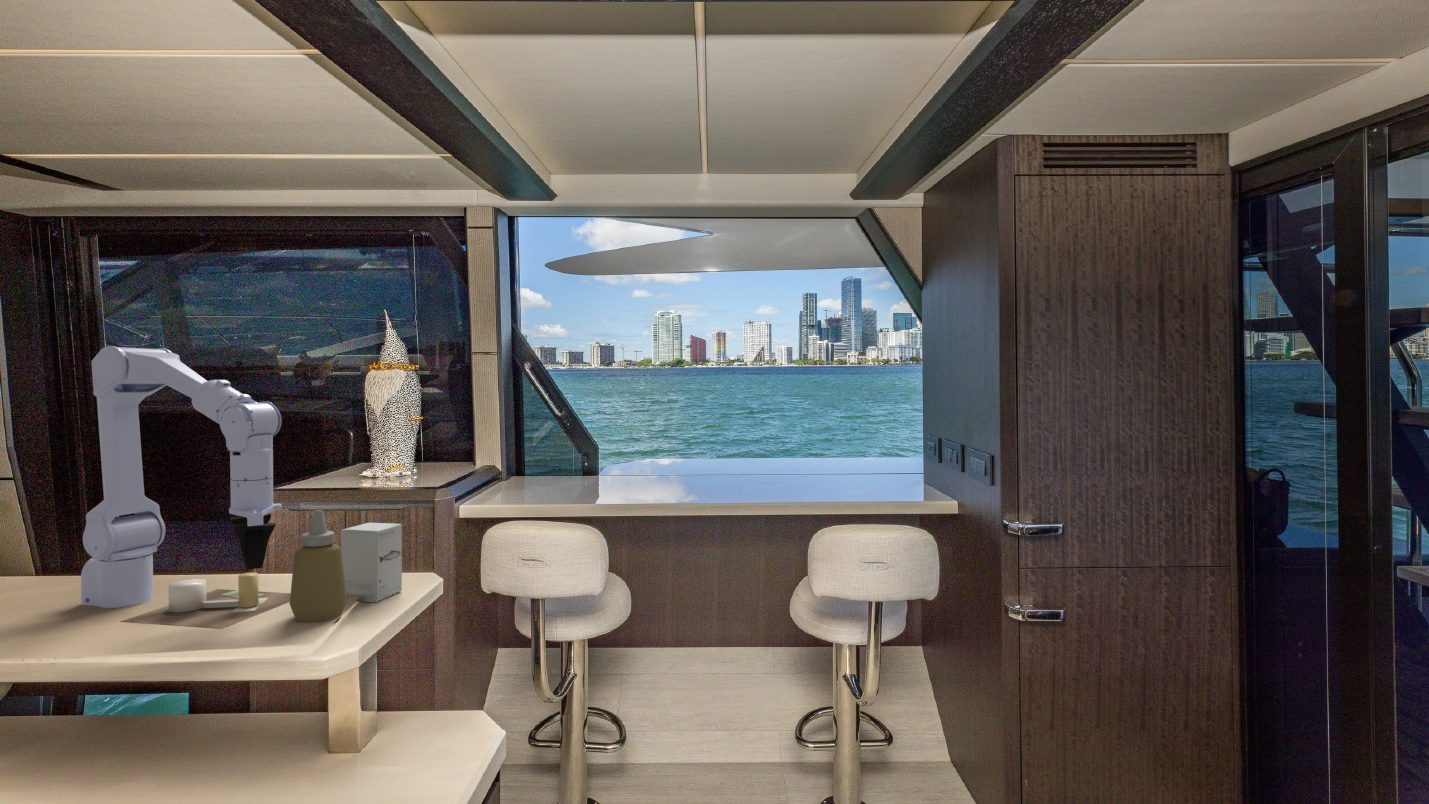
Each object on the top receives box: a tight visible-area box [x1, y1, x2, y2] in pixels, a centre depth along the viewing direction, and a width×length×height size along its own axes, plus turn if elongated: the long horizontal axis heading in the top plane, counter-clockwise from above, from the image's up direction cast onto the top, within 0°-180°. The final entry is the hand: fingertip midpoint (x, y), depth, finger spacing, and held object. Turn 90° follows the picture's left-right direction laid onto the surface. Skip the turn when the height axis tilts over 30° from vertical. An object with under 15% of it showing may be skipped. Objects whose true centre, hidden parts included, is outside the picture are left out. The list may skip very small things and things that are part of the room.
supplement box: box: [340, 522, 403, 603], centre depth 131 cm, size 7×7×13 cm
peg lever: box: [168, 572, 260, 612], centre depth 119 cm, size 13×5×5 cm, turn 101°
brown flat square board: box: [119, 588, 291, 630], centre depth 120 cm, size 18×18×1 cm
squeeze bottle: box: [289, 509, 348, 625], centre depth 116 cm, size 8×8×18 cm
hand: (252, 564), depth 116 cm, fingers open, 6 cm apart
